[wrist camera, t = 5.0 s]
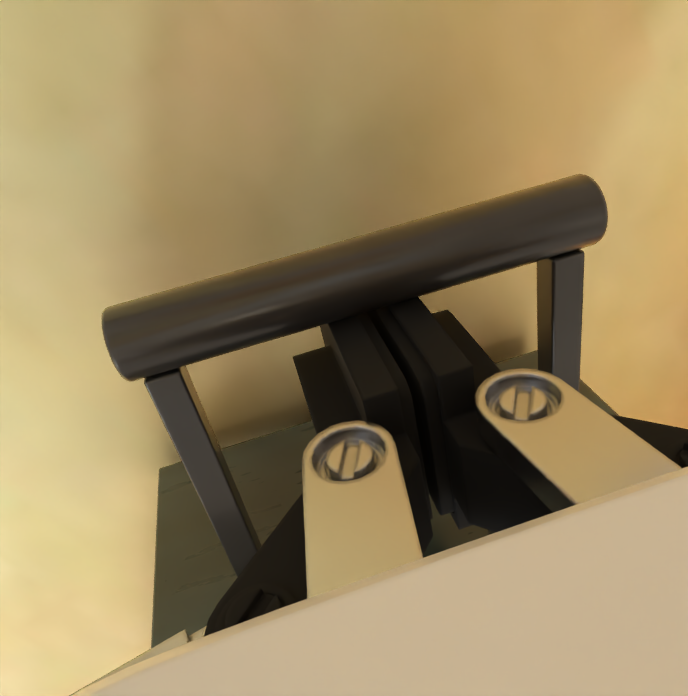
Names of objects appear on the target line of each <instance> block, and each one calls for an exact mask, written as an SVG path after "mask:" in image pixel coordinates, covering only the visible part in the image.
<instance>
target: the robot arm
mask: <svg viewBox="0 0 688 696" xmlns="http://www.w3.org/2000/svg"><path fill="white" fill-rule="evenodd" d="M320 328H321V332H322V336H323V340H324V344H325V347H323V348H319V349H316V350H313V351H310V352H306V353H303V354H300V355H296V356H293V359H294V363H295V366H296V369H297V373H298V376H299V379H300V382H301V386H302V389H303V392H304V396H305V399H306V402H307V405H308V409H309V412H310V415H311V418H312V422H313V425H314V428H315V431H316V436H315V437H314V438H313V439H312V440H311V441H310V442H309V444H308V445H307V447H306V449H305V450H304V452H303V458H302V482H303V492H302V494H301V495H300V496H299V498H298V499H297V500H296V502H295V503H294V504H293V506H292V507H291V508H290V509H289V511H288V512H287V513H286V515H285V516H284V517H283V519H282V520H281V521H280V523H279V524H278V525H277V527H276V528H275V529H274V530H273V532H272V533H271V534H270V536H269V537H268V538H267V540H266V541H265V542H264V544H263V545H262V546H261V547H260V549H259V550H258V551H257V553H256V554H255V555H254V557H253V558H252V559H251V561H250V562H249V563H248V564H247V566H246V567H245V568H244V570H243V571H242V572H241V574H240V575H239V576H238V578H237V579H236V580H235V581H234V583H233V584H232V585H231V587H230V588H229V589H228V591H227V592H226V593H225V595H224V596H223V597H222V598H221V600H220V601H219V602H218V604H217V605H216V607H215V609H214V611H213V612H212V614H211V616H210V617H209V619H208V623H207V626H205V627H204V628H202V629H200V630H199V631H197V632H195V633H193V634H192V635H190V636H189V635H188V633H187V632H186V630H185V629H184V630H183V631H181V632H179V633H177V634H176V635H174V636H172V637H171V638H169V639H167V640H165V641H164V642H162V643H160V644H158V645H157V646H155V647H153V648H151V649H150V650H148V651H146V652H144V653H143V654H141V655H139V656H138V657H136V658H134V659H132V660H131V661H129V662H127V663H125V664H124V665H122V666H120V667H118V668H117V669H115V670H113V671H111V672H110V673H108V674H106V675H104V676H103V677H101V678H99V679H98V680H96V681H94V682H92V683H91V684H89V685H87V686H85V687H84V688H82V689H80V690H78V691H77V692H75V693H73V694H71V695H70V696H688V429H683V428H678V427H673V426H668V425H662V424H657V423H652V422H647V421H642V420H637V419H631V418H626V417H621V416H616V415H611V414H608V413H606V412H605V411H604V410H602V409H601V408H600V407H598V406H597V405H596V404H594V403H593V402H591V401H590V400H589V399H587V398H586V397H585V396H583V395H582V394H581V393H579V392H578V391H576V390H575V389H574V388H572V387H571V386H570V385H568V384H567V383H566V382H564V381H563V380H562V379H560V378H558V377H556V376H554V375H553V374H551V373H548V372H544V371H541V370H537V369H526V368H519V369H510V370H505V371H501V370H500V369H499V368H498V367H497V366H496V365H495V363H494V362H493V361H492V360H491V359H490V358H489V356H488V355H487V354H486V353H485V352H484V351H483V349H482V348H481V347H480V346H479V345H478V344H477V342H476V341H475V340H474V339H473V338H472V337H471V335H470V334H469V333H468V332H467V331H466V330H465V328H464V327H463V326H462V325H461V324H460V323H459V321H458V320H457V319H456V318H455V317H454V316H453V314H452V313H451V312H449V311H448V310H444V311H441V312H437V313H434V314H431V313H430V311H429V310H428V309H427V308H426V306H425V305H424V304H423V303H422V301H421V300H420V299H419V297H415V298H412V299H409V300H405V301H402V302H398V303H395V304H392V305H388V306H385V307H382V308H378V309H375V310H371V311H368V312H365V313H361V314H358V315H355V316H351V317H348V318H344V319H341V320H338V321H334V322H331V323H328V324H324V325H321V326H320ZM429 495H430V497H431V499H432V501H433V503H434V505H435V507H436V509H437V510H438V512H439V514H440V515H441V516H442V515H445V514H448V513H450V514H451V516H452V518H453V520H454V522H455V523H456V525H457V527H458V529H459V530H460V529H463V528H466V527H469V526H472V525H475V526H478V527H481V528H484V529H487V530H488V535H487V536H485V537H482V538H479V539H476V540H473V541H470V542H467V543H464V544H462V545H459V546H456V547H453V548H450V549H447V550H444V551H441V552H439V553H436V554H433V555H430V556H427V557H424V558H423V555H424V553H425V551H426V549H427V547H428V545H429V543H430V541H431V539H432V537H433V531H432V525H431V519H432V518H433V515H432V509H431V503H430V497H429Z"/></svg>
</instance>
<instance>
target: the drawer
mask: <svg viewBox="0 0 688 696" xmlns="http://www.w3.org/2000/svg"><path fill="white" fill-rule="evenodd" d="M607 221H608V213H607V206H606V201H605V198H604V195H603V193H602V191H601V189H600V187H599V186H598V184H597V183H596V182H595V181H594V180H593V179H592V178H591V177H589V176H587V175H582V174H578V175H574V176H570V177H567V178H563V179H560V180H556V181H552V182H549V183H545V184H542V185H538V186H535V187H531V188H528V189H524V190H521V191H517V192H513V193H510V194H506V195H503V196H499V197H496V198H492V199H489V200H485V201H482V202H478V203H475V204H471V205H467V206H464V207H460V208H457V209H453V210H450V211H446V212H443V213H439V214H436V215H432V216H429V217H425V218H421V219H418V220H414V221H411V222H407V223H404V224H400V225H397V226H393V227H390V228H386V229H383V230H379V231H375V232H372V233H368V234H365V235H361V236H358V237H354V238H351V239H347V240H344V241H340V242H337V243H333V244H329V245H326V246H322V247H319V248H315V249H312V250H308V251H305V252H301V253H298V254H294V255H291V256H287V257H283V258H280V259H276V260H273V261H269V262H266V263H262V264H259V265H255V266H252V267H248V268H245V269H241V270H237V271H234V272H230V273H227V274H223V275H220V276H216V277H213V278H209V279H206V280H202V281H198V282H195V283H191V284H188V285H184V286H181V287H177V288H174V289H170V290H167V291H163V292H160V293H156V294H152V295H149V296H145V297H142V298H138V299H135V300H131V301H128V302H124V303H121V304H117V305H114V306H110V307H107V308H106V309H105V310H104V311H103V313H102V330H103V336H104V340H105V344H106V347H107V350H108V353H109V355H110V357H111V360H112V362H113V364H114V366H115V368H116V369H117V371H118V372H119V374H120V375H121V376H122V377H123V378H124V379H125V380H127V381H135V380H139V379H142V378H145V380H144V384H145V386H146V388H147V390H148V392H149V394H150V397H151V399H152V401H153V403H154V405H155V407H156V409H157V411H158V413H159V415H160V417H161V419H162V421H163V424H164V426H165V428H166V430H167V432H168V434H169V436H170V438H171V440H172V442H173V444H174V446H175V448H176V450H177V453H178V455H179V457H180V459H181V461H182V462H179V463H175V464H172V465H169V466H166V467H163V468H160V469H159V482H158V505H157V528H156V551H155V574H154V596H153V619H152V642H151V648H153V647H155V646H157V645H158V644H160V643H162V642H164V641H165V640H167V639H169V638H171V637H172V636H174V635H176V634H177V633H179V632H181V631H183V630H184V629H185V630H186V632H187V633H188V635H189V636H190V635H192V634H193V633H195V632H197V631H199V630H200V629H202V628H204V627H205V626H207V623H208V619H209V617H210V616H211V614H212V612H213V611H214V609H215V607H216V605H217V604H218V602H219V601H220V600H221V598H222V597H223V596H224V595H225V593H226V592H227V591H228V589H229V588H230V587H231V585H232V584H233V583H234V581H235V580H236V579H237V578H238V576H239V575H240V574H241V572H242V571H243V570H244V568H245V567H246V566H247V564H248V563H249V562H250V561H251V559H252V558H253V557H254V555H255V554H256V553H257V551H258V550H259V549H260V547H261V546H262V545H263V544H264V542H265V541H266V540H267V538H268V537H269V536H270V534H271V533H272V532H273V530H274V529H275V528H276V527H277V525H278V524H279V523H280V521H281V520H282V519H283V517H284V516H285V515H286V513H287V512H288V511H289V509H290V508H291V507H292V506H293V504H294V503H295V502H296V500H297V499H298V498H299V496H300V495H301V494H302V492H303V482H302V458H303V452H304V450H305V449H306V447H307V445H308V444H309V442H310V441H311V440H312V439H313V438H314V437H315V436H316V431H315V428H314V425H313V422H312V421H310V422H306V423H303V424H300V425H297V426H294V427H290V428H287V429H284V430H281V431H278V432H275V433H271V434H268V435H265V436H262V437H259V438H255V439H252V440H249V441H246V442H243V443H239V444H236V445H233V446H230V447H227V448H223V449H220V446H219V444H218V442H217V439H216V437H215V434H214V432H213V430H212V427H211V425H210V423H209V420H208V418H207V416H206V413H205V411H204V409H203V406H202V404H201V401H200V399H199V397H198V394H197V392H196V390H195V387H194V385H193V383H192V380H191V378H190V375H189V373H188V371H187V368H186V365H189V364H193V363H196V362H199V361H203V360H206V359H210V358H213V357H216V356H220V355H223V354H226V353H230V352H233V351H236V350H240V349H243V348H247V347H250V346H253V345H257V344H260V343H263V342H267V341H270V340H274V339H277V338H280V337H284V336H287V335H290V334H294V333H297V332H301V331H304V330H307V329H311V328H314V327H317V326H321V325H324V324H328V323H331V322H334V321H338V320H341V319H344V318H348V317H351V316H355V315H358V314H361V313H365V312H368V311H371V310H375V309H378V308H382V307H385V306H388V305H392V304H395V303H398V302H402V301H405V300H409V299H412V298H415V297H419V296H422V295H425V294H429V293H432V292H436V291H439V290H442V289H446V288H449V287H452V286H456V285H459V284H463V283H466V282H469V281H473V280H476V279H479V278H483V277H486V276H490V275H493V274H496V273H500V272H503V271H506V270H510V269H513V268H517V267H520V266H523V265H527V264H530V263H533V262H537V336H538V350H537V351H534V352H530V353H527V354H524V355H521V356H518V357H514V358H511V359H508V360H505V361H502V362H498V363H495V365H496V366H497V367H498V368H499V369H500V370H501V371H505V370H510V369H519V368H526V369H537V370H541V371H544V372H548V373H551V374H553V375H554V376H556V377H558V378H560V379H562V380H563V381H564V382H566V383H567V384H568V385H570V386H571V387H572V388H574V389H575V390H576V391H578V392H579V393H581V394H582V395H583V396H585V397H586V398H587V399H589V400H590V401H591V402H593V403H594V404H596V405H597V406H598V407H600V408H601V409H602V410H604V411H605V412H606V413H608V414H611V415H616V416H619V415H618V414H617V413H616V412H615V411H614V410H612V409H611V408H610V407H609V406H608V405H607V404H606V403H605V402H604V401H603V400H602V399H601V398H600V397H599V396H598V395H597V394H596V393H594V392H593V391H592V390H591V389H590V388H589V387H588V386H587V385H586V384H585V383H584V382H583V381H582V380H581V379H580V356H581V330H582V304H583V278H584V252H583V251H582V250H580V249H581V248H584V247H587V246H591V245H594V244H596V243H597V242H598V241H600V240H601V239H602V237H603V236H604V234H605V231H606V228H607ZM429 497H430V495H429ZM430 503H431V509H432V515H433V518H432V519H431V525H432V531H433V537H432V539H431V541H430V543H429V545H428V547H427V549H426V551H425V553H424V555H423V558H424V557H427V556H430V555H433V554H436V553H439V552H441V551H444V550H447V549H450V548H453V547H456V546H459V545H462V544H464V543H467V542H470V541H473V540H476V539H479V538H482V537H485V536H487V535H488V530H487V529H484V528H481V527H478V526H475V525H472V526H469V527H466V528H463V529H460V530H459V529H458V527H457V525H456V523H455V522H454V520H453V518H452V516H451V514H450V513H448V514H445V515H442V516H441V515H440V514H439V512H438V510H437V509H436V507H435V505H434V503H433V501H432V499H431V497H430Z"/></svg>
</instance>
